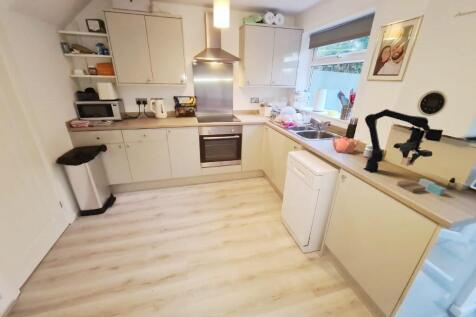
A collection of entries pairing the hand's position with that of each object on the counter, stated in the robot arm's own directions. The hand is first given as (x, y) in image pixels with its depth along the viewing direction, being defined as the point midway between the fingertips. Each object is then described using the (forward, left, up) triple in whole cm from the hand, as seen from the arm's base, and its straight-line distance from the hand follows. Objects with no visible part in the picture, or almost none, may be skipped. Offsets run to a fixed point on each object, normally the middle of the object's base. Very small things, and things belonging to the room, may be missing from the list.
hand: (407, 162), depth 126 cm
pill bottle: (-35, +8, -11) cm, 38 cm away
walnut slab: (+11, -9, -12) cm, 18 cm away
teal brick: (+18, +1, -11) cm, 21 cm away
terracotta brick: (0, 0, -1) cm, 1 cm away
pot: (-56, +3, -11) cm, 57 cm away
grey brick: (+12, +2, -11) cm, 17 cm away
